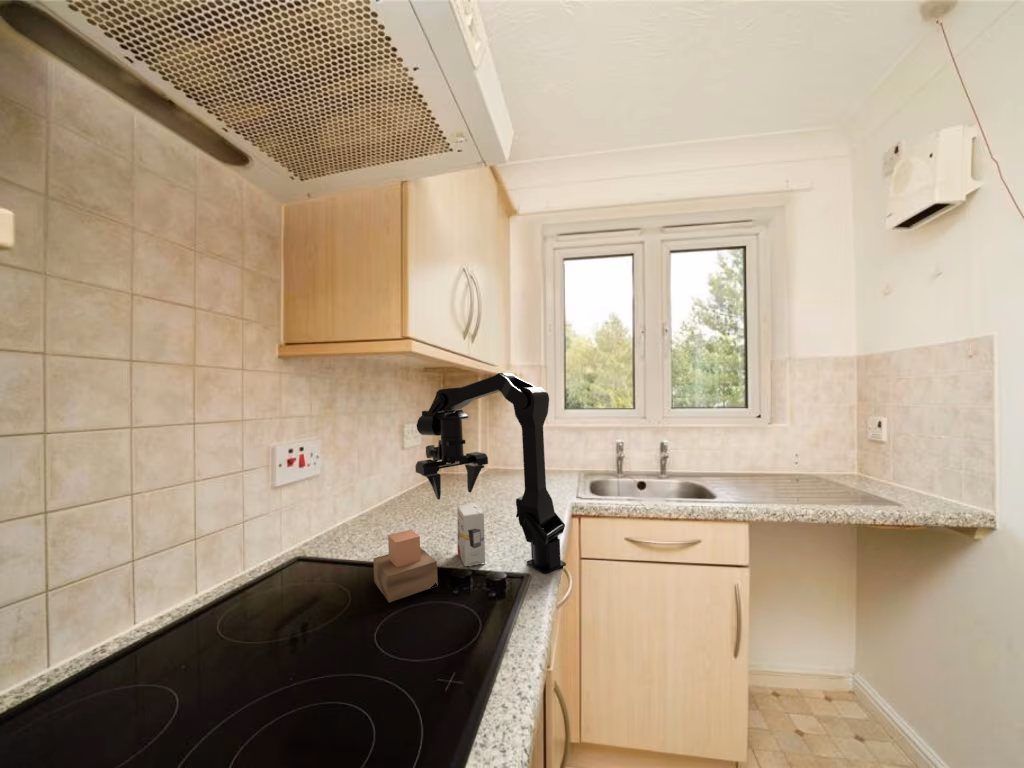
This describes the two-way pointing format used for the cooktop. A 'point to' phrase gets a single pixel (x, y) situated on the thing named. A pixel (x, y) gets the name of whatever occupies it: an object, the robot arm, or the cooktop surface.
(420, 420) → the robot arm
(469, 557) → the ink box
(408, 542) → the terracotta cube
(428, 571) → the walnut block
